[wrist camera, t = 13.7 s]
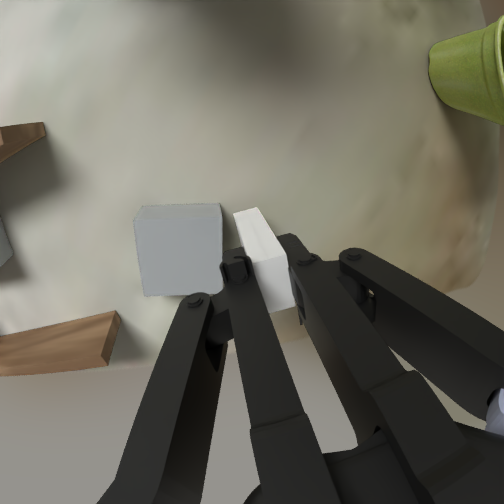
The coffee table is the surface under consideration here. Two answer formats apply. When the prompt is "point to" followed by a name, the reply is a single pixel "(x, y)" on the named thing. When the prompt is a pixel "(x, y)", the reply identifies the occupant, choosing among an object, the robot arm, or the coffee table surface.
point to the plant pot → (471, 72)
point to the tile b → (179, 248)
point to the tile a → (4, 245)
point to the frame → (59, 335)
